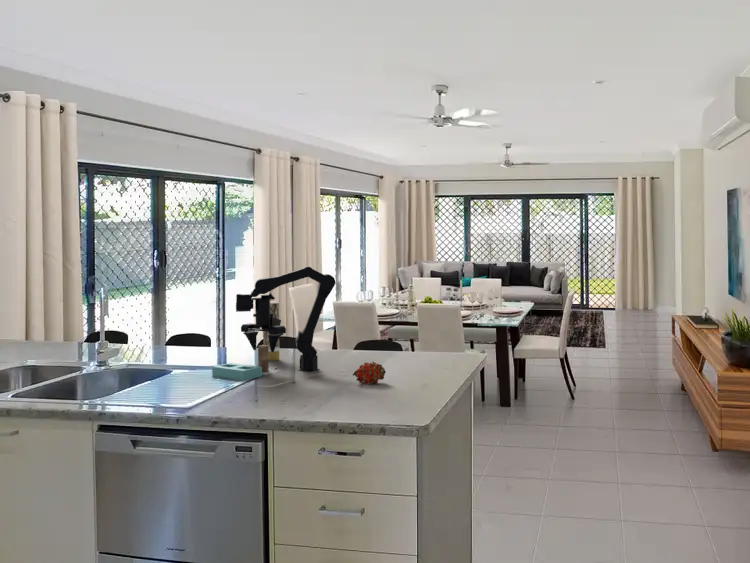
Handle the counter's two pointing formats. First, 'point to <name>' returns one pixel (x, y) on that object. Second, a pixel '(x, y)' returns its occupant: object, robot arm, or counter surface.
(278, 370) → the rubber mat
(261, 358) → the walnut peg
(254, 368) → the hole block
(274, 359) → the paper tube
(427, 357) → the counter surface
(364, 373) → the dragon fruit
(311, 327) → the robot arm
